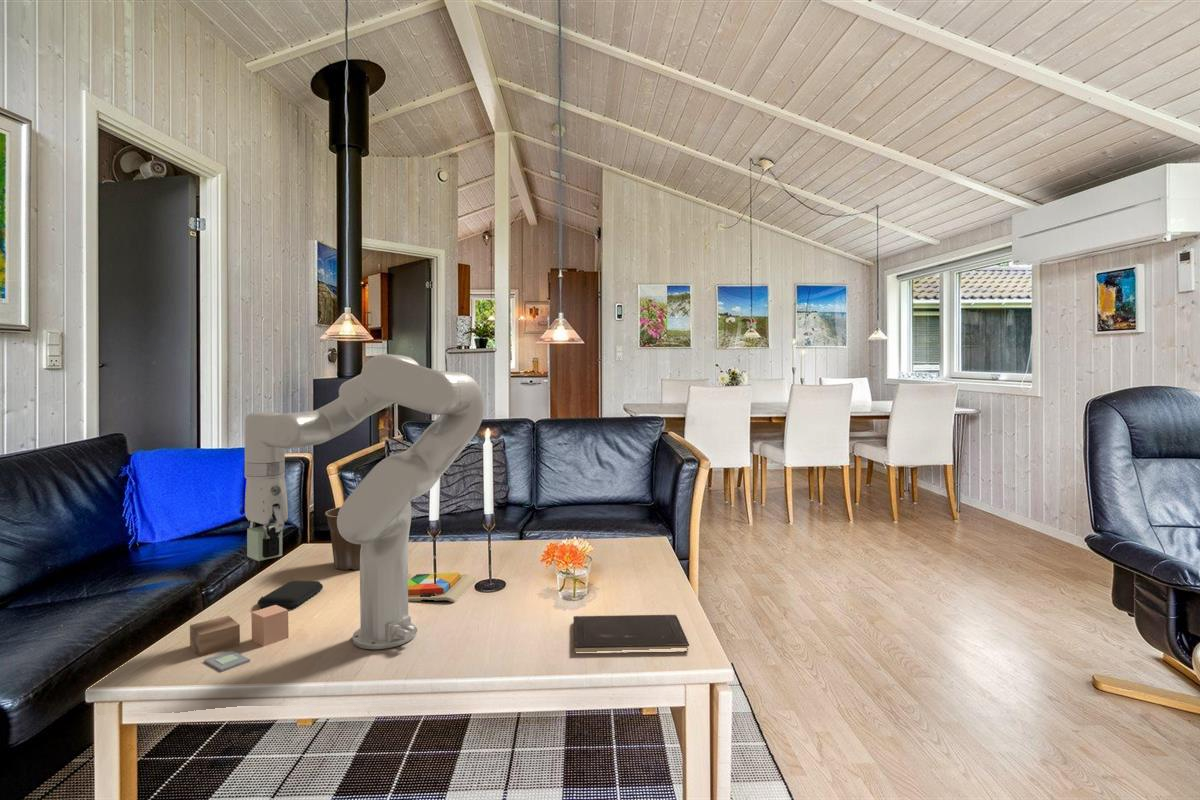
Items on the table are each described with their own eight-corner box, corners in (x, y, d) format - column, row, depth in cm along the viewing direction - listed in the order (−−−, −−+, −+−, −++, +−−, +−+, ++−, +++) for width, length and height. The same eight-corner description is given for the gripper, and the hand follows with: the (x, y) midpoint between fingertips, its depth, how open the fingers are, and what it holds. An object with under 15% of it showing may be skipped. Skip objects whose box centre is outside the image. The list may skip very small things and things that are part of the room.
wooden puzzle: (409, 579, 166) (409, 567, 166) (476, 582, 164) (476, 569, 164) (380, 602, 149) (380, 588, 149) (454, 606, 147) (454, 591, 147)
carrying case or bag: (286, 590, 157) (250, 611, 143) (285, 578, 157) (249, 598, 143) (326, 590, 157) (294, 612, 142) (325, 579, 157) (293, 599, 142)
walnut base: (239, 646, 124) (239, 624, 123) (200, 657, 118) (199, 635, 118) (228, 636, 128) (228, 615, 128) (190, 647, 123) (189, 625, 123)
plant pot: (350, 576, 167) (350, 518, 166) (313, 567, 175) (313, 512, 174) (397, 561, 181) (396, 508, 180) (361, 553, 189) (360, 502, 189)
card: (249, 661, 117) (249, 658, 116) (221, 671, 112) (221, 668, 112) (232, 652, 120) (232, 649, 120) (204, 661, 116) (204, 659, 116)
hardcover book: (689, 655, 121) (689, 644, 121) (573, 657, 120) (573, 646, 120) (675, 623, 137) (675, 613, 137) (573, 625, 136) (573, 615, 136)
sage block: (282, 555, 131) (282, 528, 131) (258, 561, 127) (258, 532, 127) (271, 551, 134) (271, 524, 134) (247, 556, 130) (247, 528, 130)
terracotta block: (288, 638, 127) (288, 609, 127) (264, 646, 123) (263, 617, 123) (276, 632, 130) (275, 604, 130) (251, 640, 126) (251, 612, 126)
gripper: (302, 472, 128) (302, 557, 129) (264, 464, 138) (263, 543, 139) (265, 476, 122) (265, 565, 123) (228, 467, 132) (228, 550, 133)
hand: (264, 552), depth 131 cm, fingers closed on sage block, 4 cm apart
